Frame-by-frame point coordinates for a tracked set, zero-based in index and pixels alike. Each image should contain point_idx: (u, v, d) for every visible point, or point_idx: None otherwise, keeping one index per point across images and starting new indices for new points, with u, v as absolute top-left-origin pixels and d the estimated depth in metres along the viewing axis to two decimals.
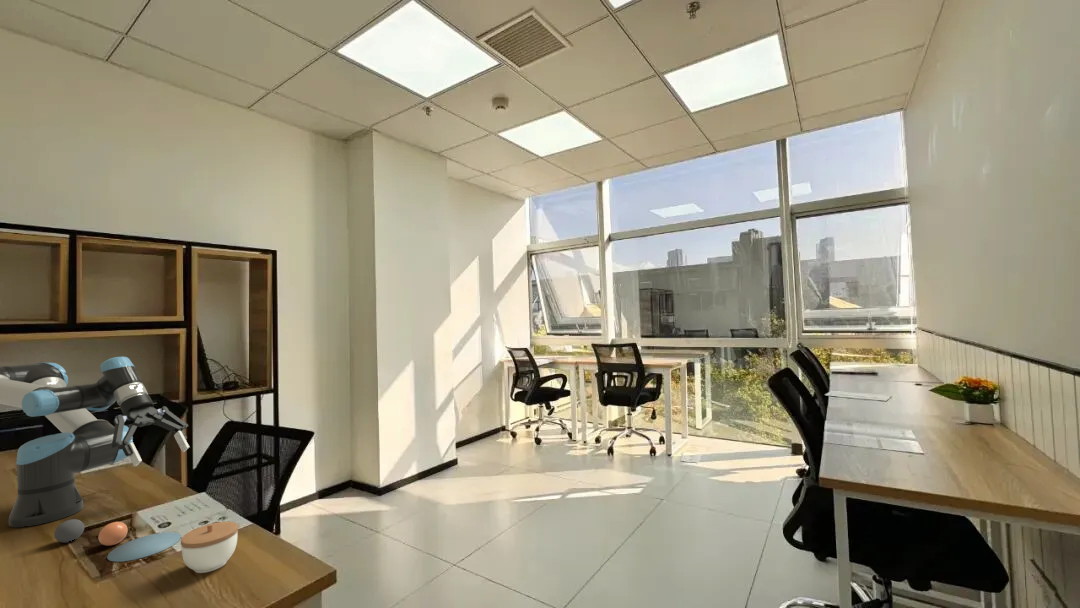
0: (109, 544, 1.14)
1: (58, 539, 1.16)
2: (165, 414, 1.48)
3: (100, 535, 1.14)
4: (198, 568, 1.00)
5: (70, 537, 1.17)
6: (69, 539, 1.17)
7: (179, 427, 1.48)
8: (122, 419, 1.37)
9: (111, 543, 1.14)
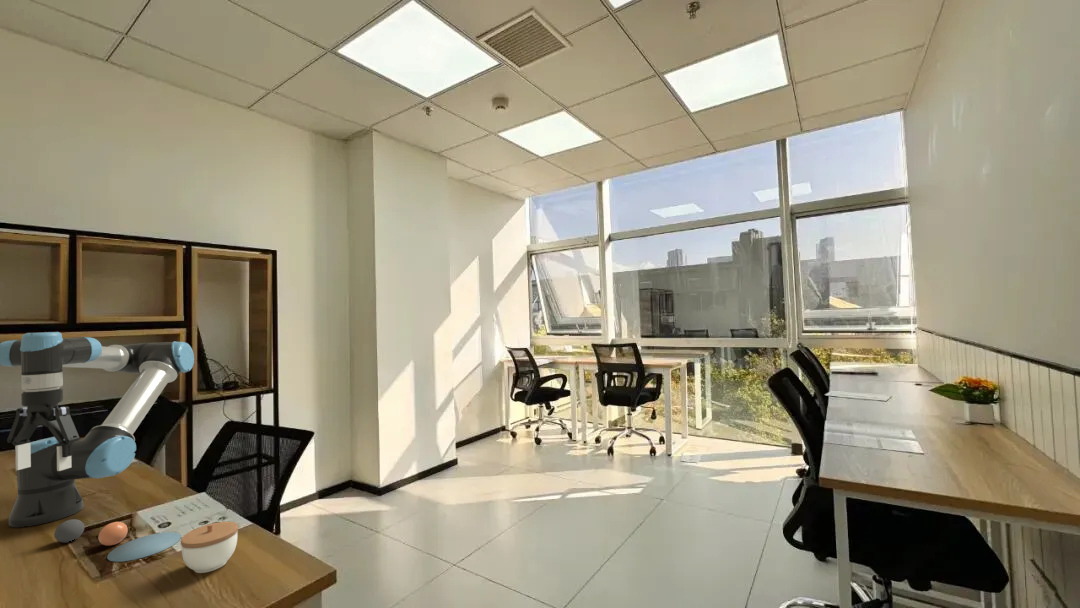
0: (109, 544, 1.14)
1: (58, 539, 1.16)
2: None
3: (100, 535, 1.14)
4: (198, 568, 1.00)
5: (70, 537, 1.17)
6: (69, 539, 1.17)
7: (60, 441, 1.19)
8: (18, 414, 1.21)
9: (111, 543, 1.14)
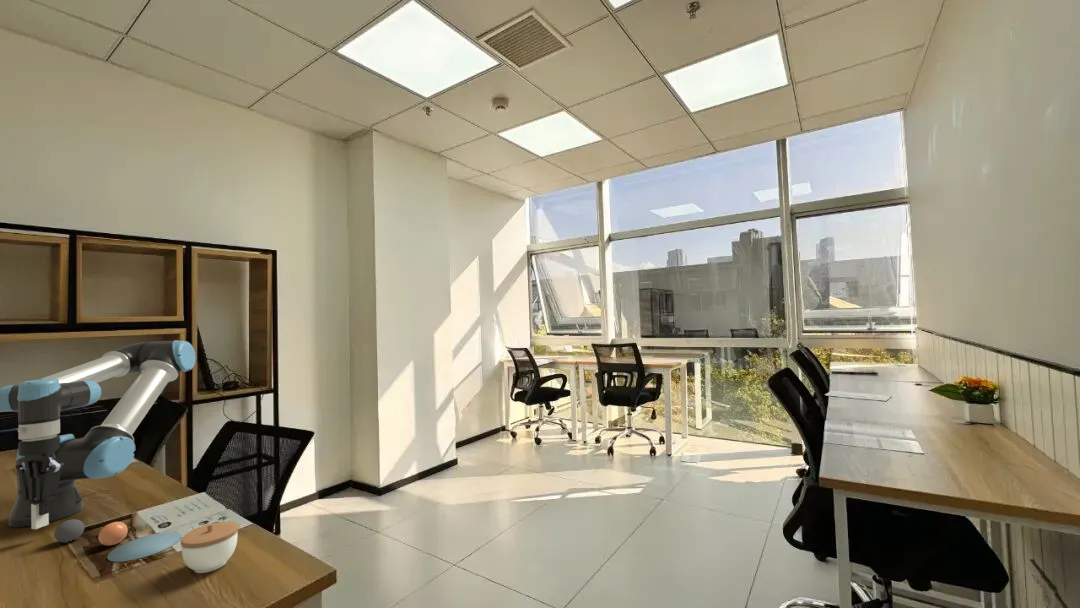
0: (109, 544, 1.14)
1: (58, 539, 1.16)
2: None
3: (100, 535, 1.14)
4: (198, 568, 1.00)
5: (70, 537, 1.17)
6: (69, 539, 1.17)
7: (38, 499, 1.19)
8: (19, 470, 1.20)
9: (111, 543, 1.14)
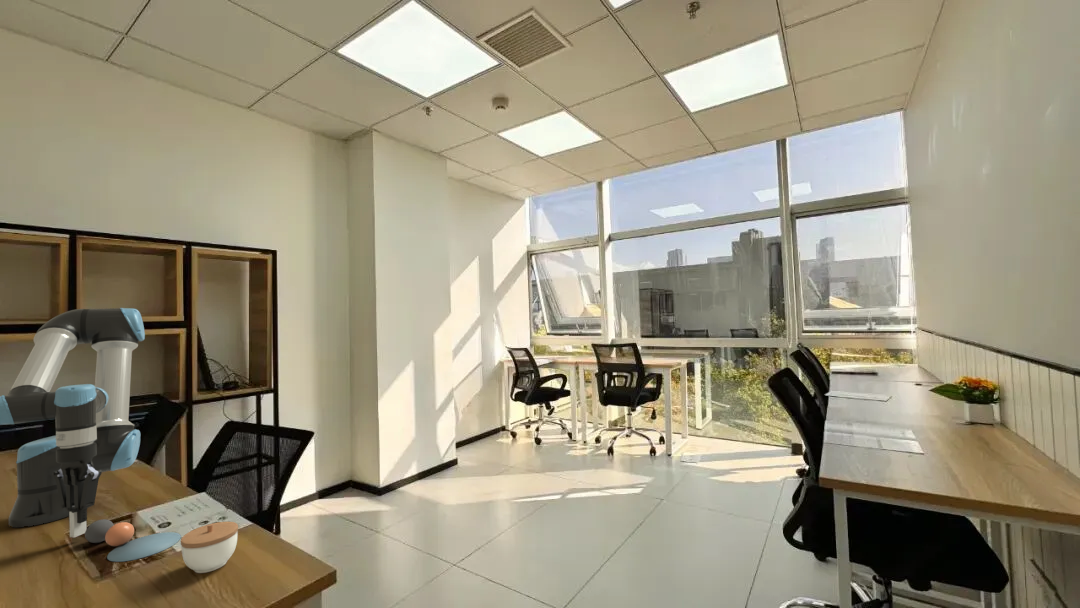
0: (111, 545, 1.14)
1: (88, 530, 1.16)
2: None
3: (109, 535, 1.13)
4: (198, 568, 1.00)
5: None
6: None
7: (76, 507, 1.17)
8: (56, 477, 1.18)
9: (113, 545, 1.14)
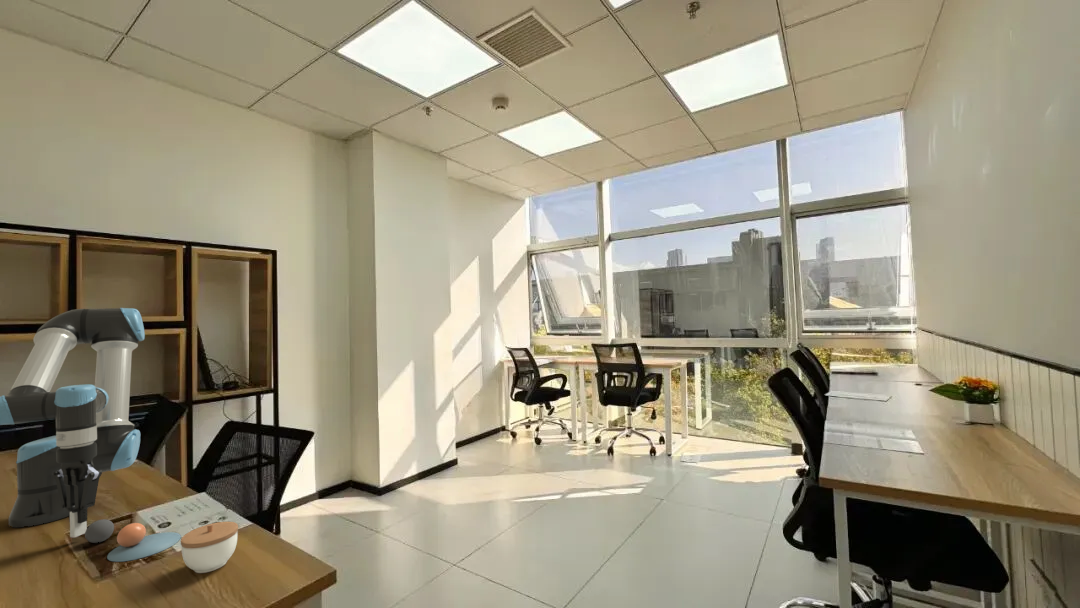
0: None
1: (88, 530, 1.16)
2: None
3: (123, 540, 1.12)
4: (198, 568, 1.00)
5: None
6: None
7: (76, 507, 1.17)
8: (57, 477, 1.18)
9: None
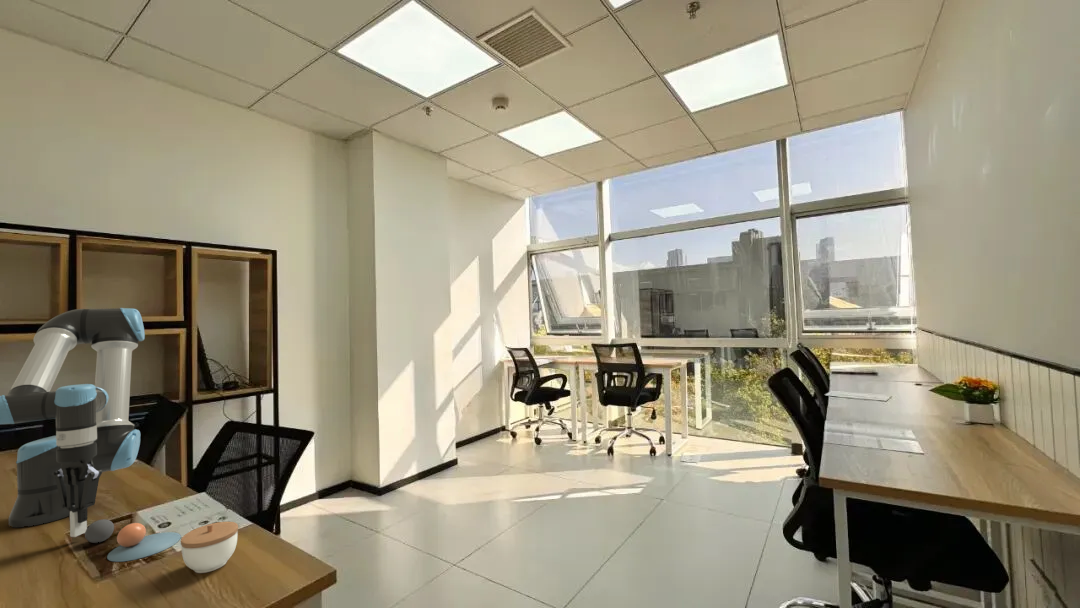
0: None
1: (88, 530, 1.16)
2: None
3: (123, 540, 1.12)
4: (198, 568, 1.00)
5: None
6: None
7: (76, 506, 1.17)
8: (57, 476, 1.18)
9: None
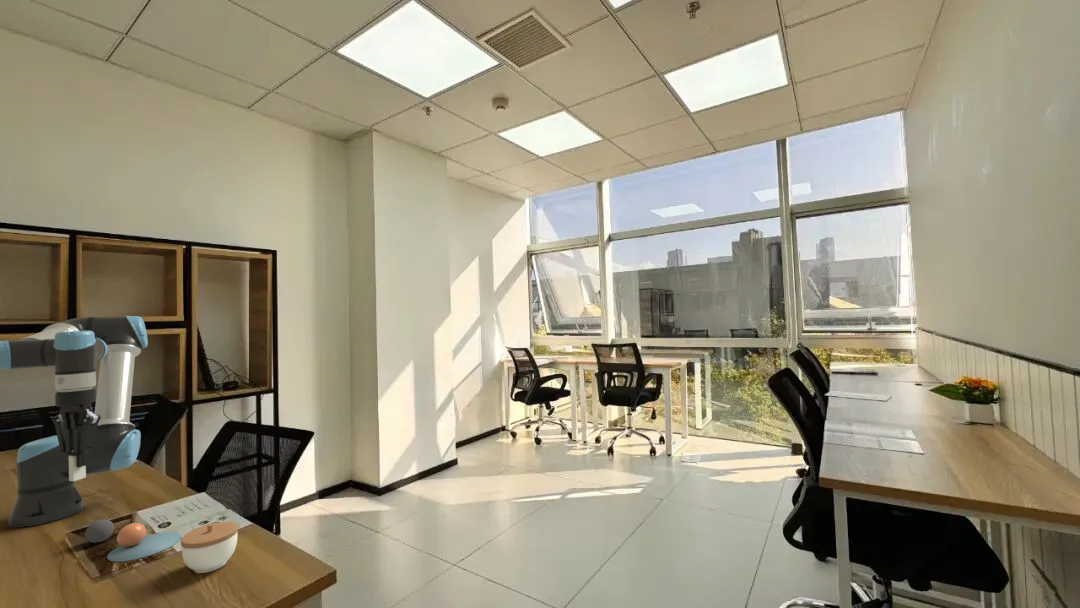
0: None
1: (88, 530, 1.16)
2: None
3: (123, 540, 1.12)
4: (198, 568, 1.00)
5: None
6: None
7: (75, 451, 1.17)
8: (56, 421, 1.18)
9: None
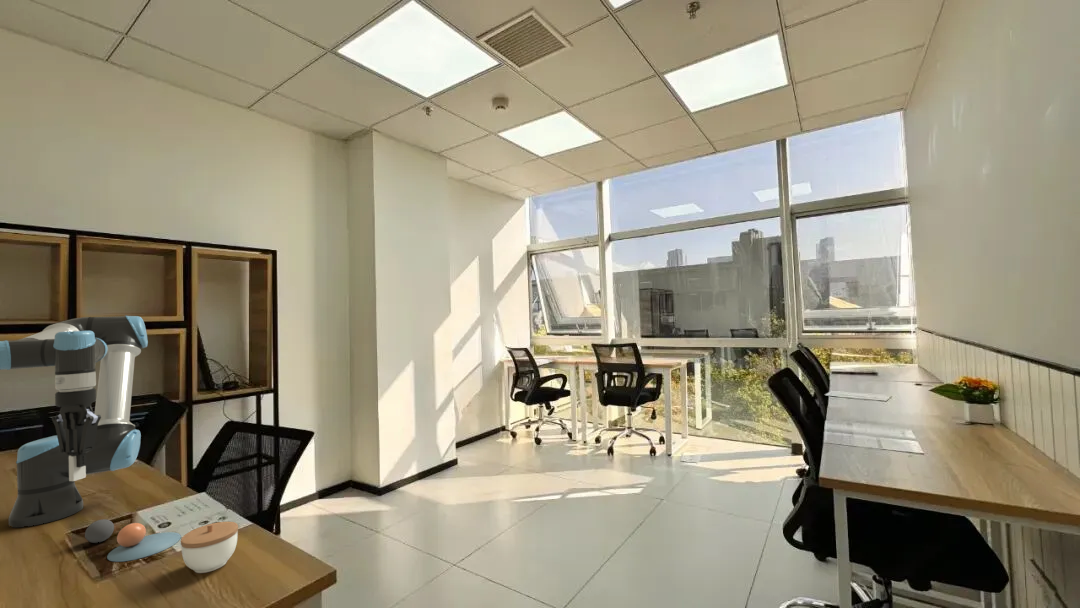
0: None
1: (88, 530, 1.16)
2: None
3: (123, 540, 1.12)
4: (198, 568, 1.00)
5: None
6: None
7: (75, 451, 1.17)
8: (56, 421, 1.18)
9: None
